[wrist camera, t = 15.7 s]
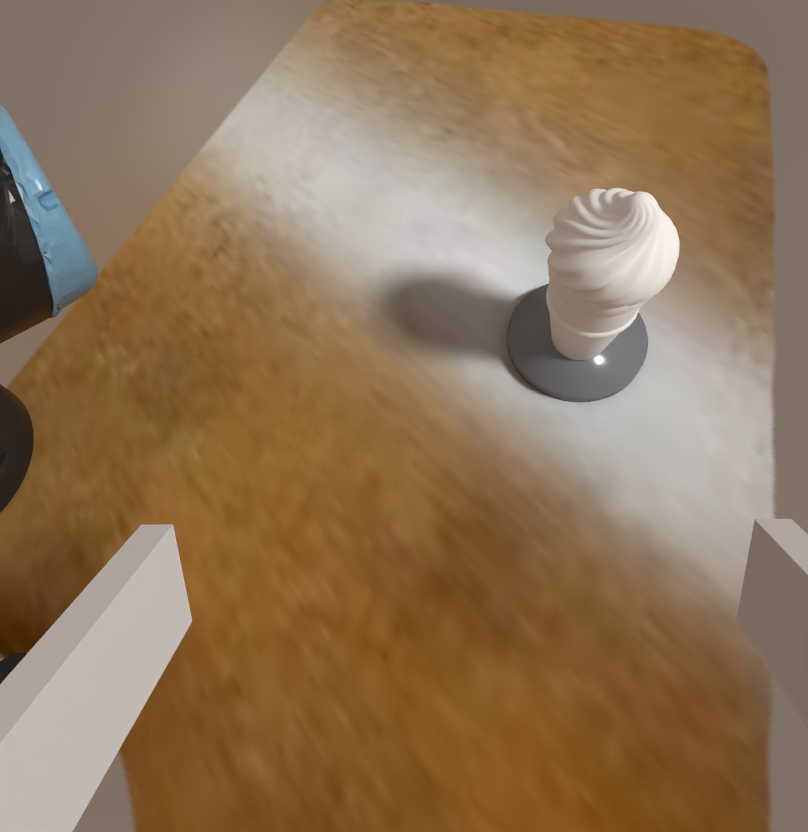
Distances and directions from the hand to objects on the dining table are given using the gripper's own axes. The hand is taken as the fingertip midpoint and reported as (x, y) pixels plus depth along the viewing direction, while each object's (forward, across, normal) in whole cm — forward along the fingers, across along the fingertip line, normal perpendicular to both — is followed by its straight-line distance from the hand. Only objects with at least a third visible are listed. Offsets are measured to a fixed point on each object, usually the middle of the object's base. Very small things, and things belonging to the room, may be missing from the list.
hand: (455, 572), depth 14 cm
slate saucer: (+38, +11, -4) cm, 40 cm away
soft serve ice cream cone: (+37, +11, -4) cm, 39 cm away
